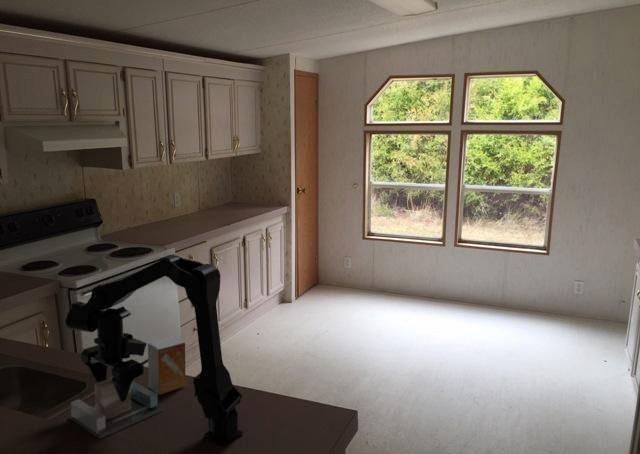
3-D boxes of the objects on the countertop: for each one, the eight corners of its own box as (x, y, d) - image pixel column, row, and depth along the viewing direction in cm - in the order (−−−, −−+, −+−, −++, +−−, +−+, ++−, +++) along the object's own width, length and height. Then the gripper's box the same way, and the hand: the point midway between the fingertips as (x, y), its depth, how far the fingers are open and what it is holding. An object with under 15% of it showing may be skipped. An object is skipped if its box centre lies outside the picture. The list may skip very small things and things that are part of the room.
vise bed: (162, 411, 127) (162, 394, 127) (99, 439, 114) (98, 420, 114) (131, 393, 136) (130, 377, 135) (69, 418, 123) (68, 400, 122)
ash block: (131, 409, 126) (130, 378, 125) (104, 420, 120) (103, 389, 119) (122, 404, 128) (121, 374, 127) (96, 414, 123) (94, 383, 122)
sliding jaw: (157, 405, 127) (157, 394, 127) (150, 408, 126) (150, 396, 125) (131, 390, 134) (130, 379, 134) (124, 393, 133) (123, 382, 132)
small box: (159, 396, 135) (157, 349, 133) (148, 387, 139) (147, 342, 137) (186, 386, 140) (185, 342, 139) (175, 379, 145) (174, 335, 143)
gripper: (162, 334, 122) (164, 395, 124) (120, 317, 133) (122, 373, 136) (119, 347, 113) (122, 412, 116) (78, 328, 125) (81, 387, 127)
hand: (112, 395), depth 124 cm, fingers open, 9 cm apart
